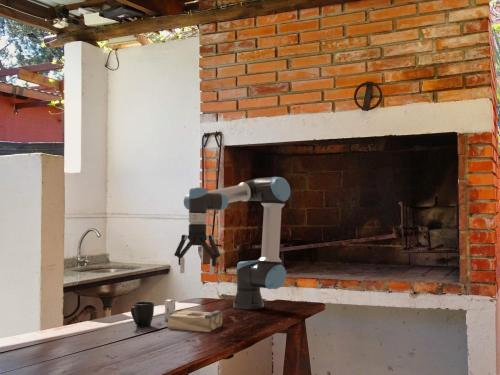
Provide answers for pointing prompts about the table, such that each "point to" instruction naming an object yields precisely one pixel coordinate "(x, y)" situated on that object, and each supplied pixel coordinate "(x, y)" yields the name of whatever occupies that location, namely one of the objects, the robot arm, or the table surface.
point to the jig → (195, 320)
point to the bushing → (169, 308)
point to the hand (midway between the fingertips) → (196, 273)
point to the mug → (142, 313)
